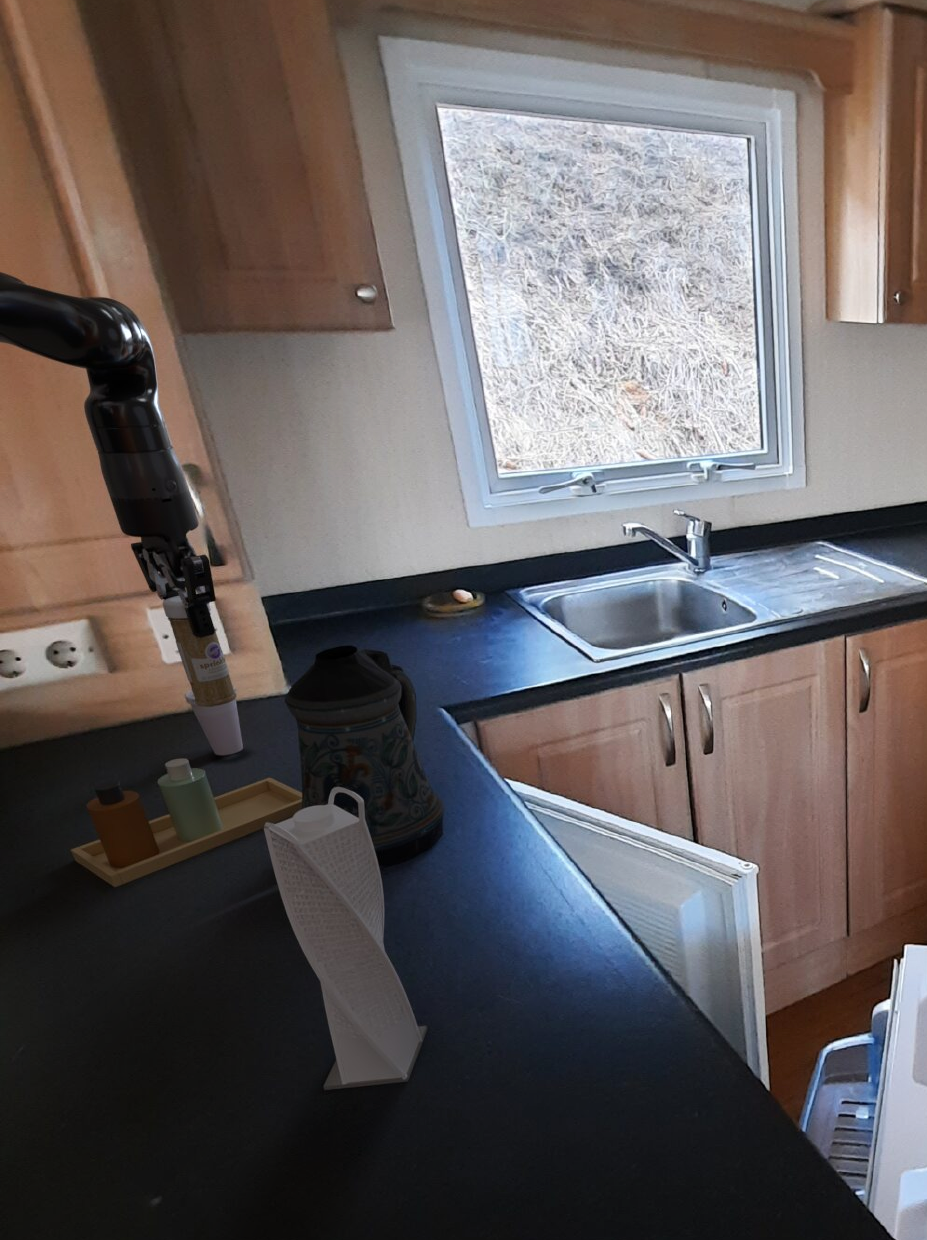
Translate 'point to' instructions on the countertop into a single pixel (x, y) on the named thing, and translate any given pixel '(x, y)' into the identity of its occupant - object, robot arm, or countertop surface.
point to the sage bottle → (189, 801)
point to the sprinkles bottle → (200, 658)
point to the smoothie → (219, 725)
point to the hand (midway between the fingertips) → (194, 630)
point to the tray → (239, 818)
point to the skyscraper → (346, 940)
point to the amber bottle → (121, 825)
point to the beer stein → (366, 749)
